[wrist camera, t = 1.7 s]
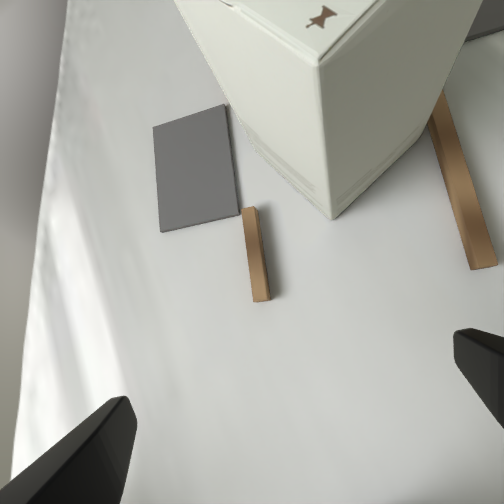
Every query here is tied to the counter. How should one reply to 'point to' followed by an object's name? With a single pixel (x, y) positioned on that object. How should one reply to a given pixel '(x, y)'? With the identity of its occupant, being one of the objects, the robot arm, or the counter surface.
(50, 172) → the counter surface
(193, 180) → the pads
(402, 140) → the supplement box
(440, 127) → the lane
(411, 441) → the counter surface
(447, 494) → the counter surface
